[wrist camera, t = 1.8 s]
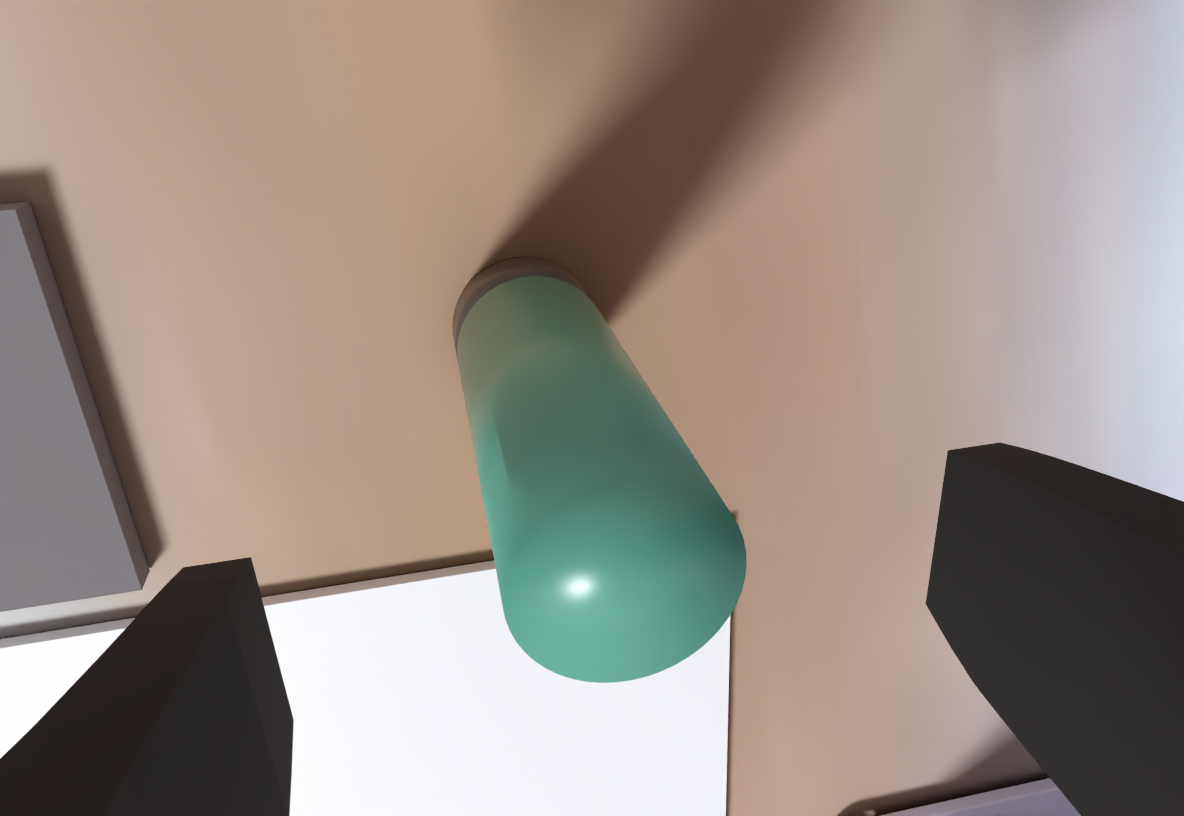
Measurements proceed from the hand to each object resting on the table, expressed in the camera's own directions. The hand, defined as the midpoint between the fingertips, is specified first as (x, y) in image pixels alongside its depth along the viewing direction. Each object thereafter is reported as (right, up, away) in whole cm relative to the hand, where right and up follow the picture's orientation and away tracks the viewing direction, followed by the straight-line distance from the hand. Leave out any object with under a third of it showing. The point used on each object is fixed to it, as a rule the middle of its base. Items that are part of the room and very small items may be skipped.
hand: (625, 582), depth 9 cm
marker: (-2, +3, +7) cm, 8 cm away
